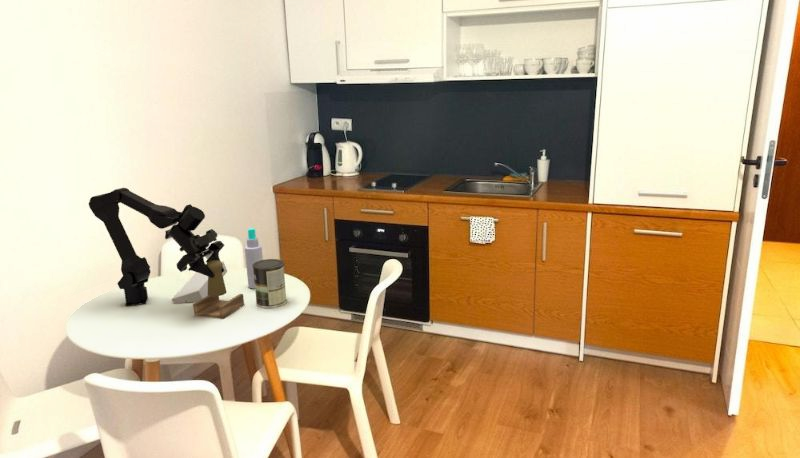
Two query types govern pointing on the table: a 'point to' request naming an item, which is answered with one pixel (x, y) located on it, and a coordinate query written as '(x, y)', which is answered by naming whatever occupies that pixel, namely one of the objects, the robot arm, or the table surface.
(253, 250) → the spray bottle
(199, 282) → the light grey block
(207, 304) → the tray
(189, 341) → the table surface
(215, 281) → the cork
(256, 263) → the coffee can
